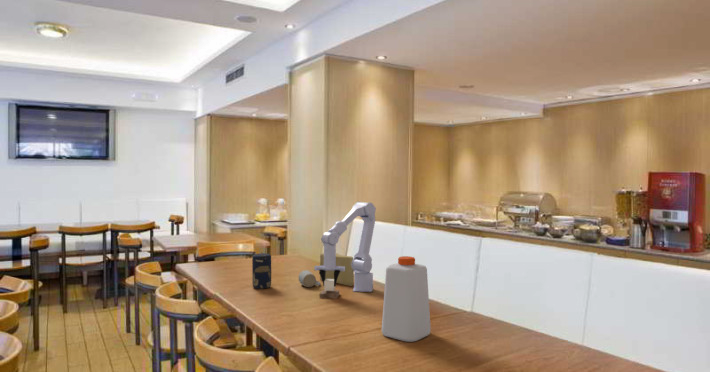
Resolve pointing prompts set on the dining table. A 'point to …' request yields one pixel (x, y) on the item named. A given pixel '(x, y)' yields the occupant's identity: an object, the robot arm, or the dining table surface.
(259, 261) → the canister
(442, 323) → the dining table surface
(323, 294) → the walnut base
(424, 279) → the plastic bottle
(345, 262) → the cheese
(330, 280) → the cream cube
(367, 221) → the robot arm
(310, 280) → the ceramic mug
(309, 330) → the dining table surface
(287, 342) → the dining table surface
